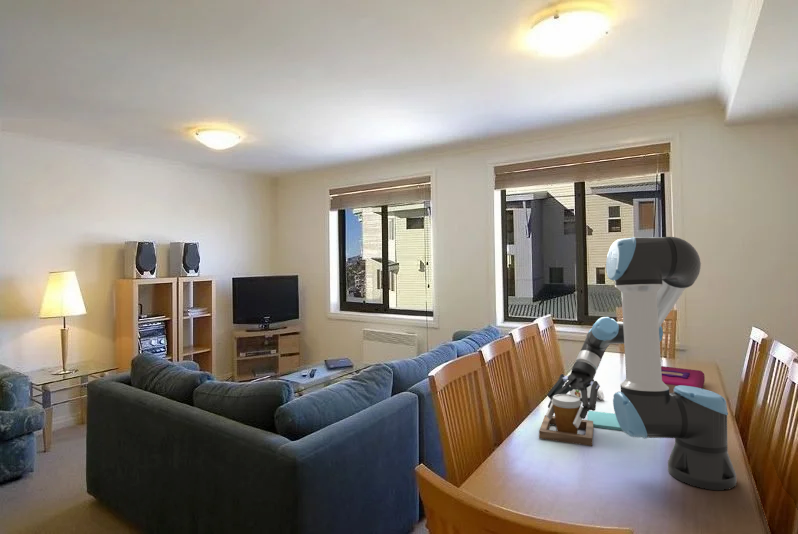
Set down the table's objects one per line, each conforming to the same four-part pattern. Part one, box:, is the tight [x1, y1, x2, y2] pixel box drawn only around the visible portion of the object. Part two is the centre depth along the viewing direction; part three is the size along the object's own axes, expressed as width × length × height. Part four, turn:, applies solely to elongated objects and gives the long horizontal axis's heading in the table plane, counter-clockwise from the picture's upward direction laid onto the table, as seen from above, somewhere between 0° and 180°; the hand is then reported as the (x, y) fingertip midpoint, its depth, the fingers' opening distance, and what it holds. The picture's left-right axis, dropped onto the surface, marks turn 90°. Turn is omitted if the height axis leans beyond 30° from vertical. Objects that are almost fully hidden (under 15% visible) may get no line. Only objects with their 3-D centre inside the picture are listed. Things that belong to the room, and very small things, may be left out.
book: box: [661, 365, 706, 393], centre depth 196 cm, size 21×28×8 cm
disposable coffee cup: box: [550, 393, 582, 434], centre depth 149 cm, size 10×10×12 cm
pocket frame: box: [538, 414, 594, 447], centre depth 149 cm, size 16×16×2 cm
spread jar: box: [569, 378, 605, 402], centre depth 185 cm, size 12×11×12 cm
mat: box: [587, 410, 624, 432], centre depth 158 cm, size 14×14×1 cm
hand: (561, 421), depth 147 cm, fingers closed on disposable coffee cup, 9 cm apart
